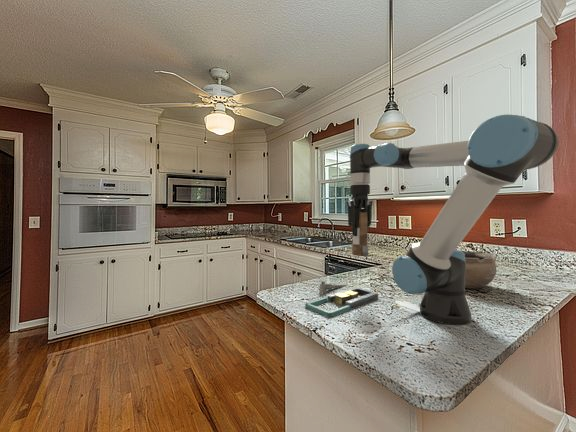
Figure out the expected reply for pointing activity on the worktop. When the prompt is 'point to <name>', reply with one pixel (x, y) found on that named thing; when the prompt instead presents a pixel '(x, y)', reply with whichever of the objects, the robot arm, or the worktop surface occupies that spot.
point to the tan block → (341, 298)
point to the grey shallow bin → (362, 299)
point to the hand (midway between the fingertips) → (360, 243)
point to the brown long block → (361, 237)
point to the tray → (329, 314)
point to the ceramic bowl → (479, 269)
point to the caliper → (328, 287)
